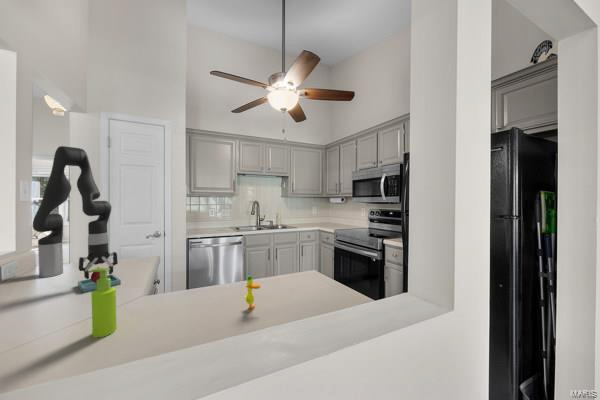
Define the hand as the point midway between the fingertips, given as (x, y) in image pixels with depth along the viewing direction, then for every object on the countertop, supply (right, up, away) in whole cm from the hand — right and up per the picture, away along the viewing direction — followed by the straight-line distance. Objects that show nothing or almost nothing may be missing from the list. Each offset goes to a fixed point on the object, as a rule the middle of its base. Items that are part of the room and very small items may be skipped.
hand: (99, 276), depth 117 cm
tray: (0, -4, 0) cm, 4 cm away
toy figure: (+78, -4, -25) cm, 82 cm away
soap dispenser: (+35, -5, -41) cm, 54 cm away
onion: (0, -4, 0) cm, 4 cm away
